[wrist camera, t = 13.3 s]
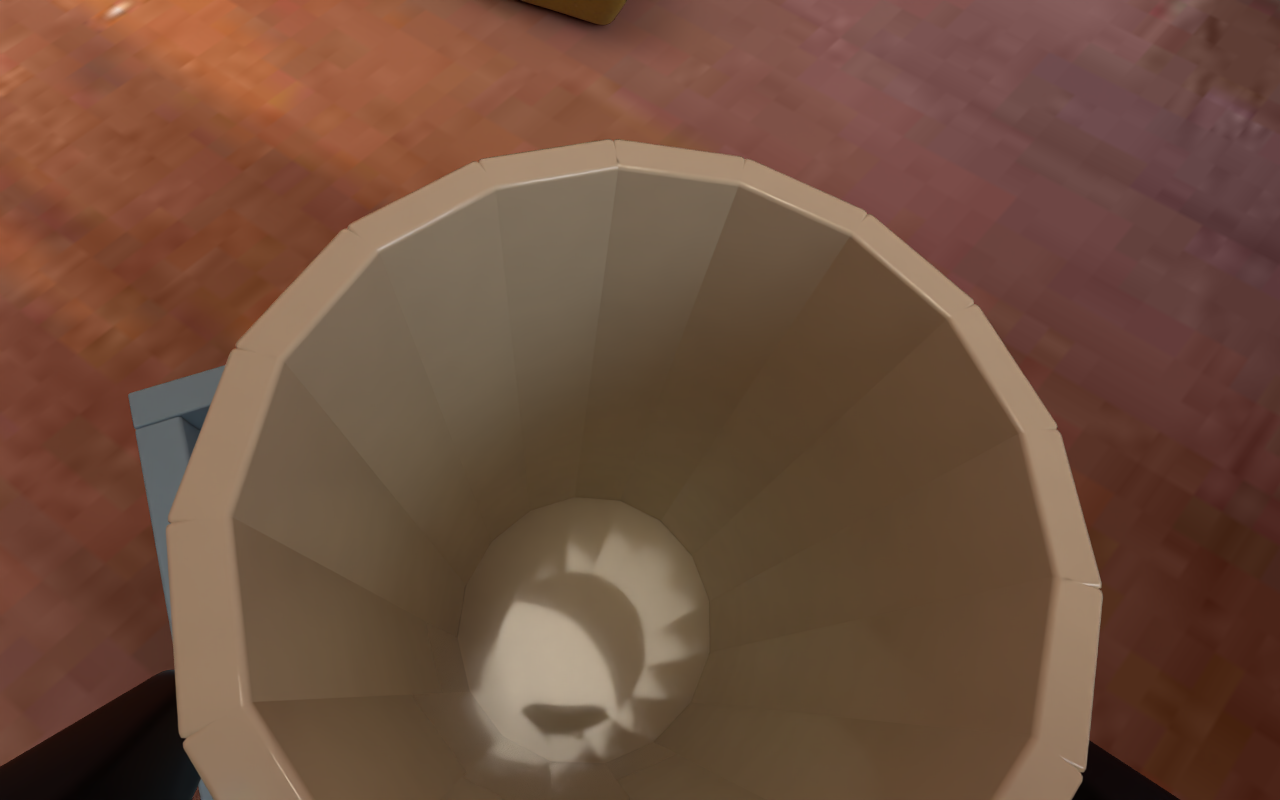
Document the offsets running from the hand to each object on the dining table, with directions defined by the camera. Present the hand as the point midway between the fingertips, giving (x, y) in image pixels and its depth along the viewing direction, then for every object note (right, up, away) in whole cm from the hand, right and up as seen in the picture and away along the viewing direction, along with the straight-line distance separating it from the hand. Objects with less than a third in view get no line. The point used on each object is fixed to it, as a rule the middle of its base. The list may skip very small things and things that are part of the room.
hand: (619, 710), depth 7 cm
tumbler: (-1, -2, +8) cm, 9 cm away
